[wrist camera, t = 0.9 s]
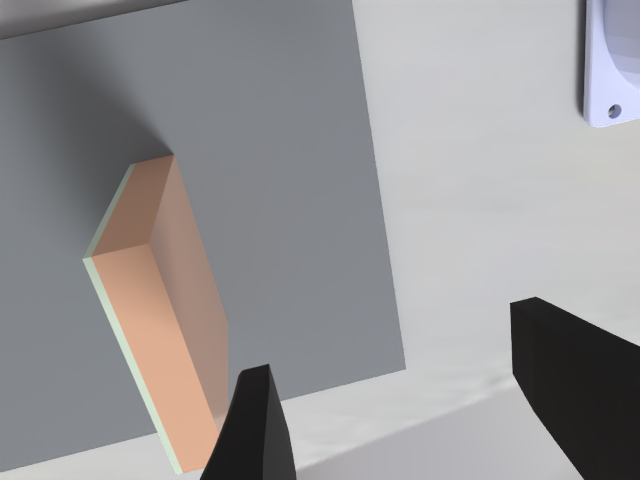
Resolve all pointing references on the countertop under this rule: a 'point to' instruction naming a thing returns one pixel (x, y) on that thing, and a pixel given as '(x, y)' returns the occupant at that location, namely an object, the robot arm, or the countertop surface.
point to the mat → (205, 199)
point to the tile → (164, 308)
